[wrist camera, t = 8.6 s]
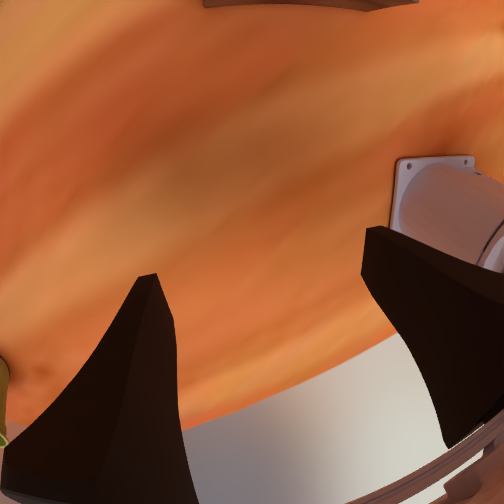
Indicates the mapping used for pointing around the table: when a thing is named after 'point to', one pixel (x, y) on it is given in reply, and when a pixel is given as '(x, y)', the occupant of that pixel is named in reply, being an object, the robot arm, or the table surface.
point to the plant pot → (3, 401)
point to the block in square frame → (318, 3)
